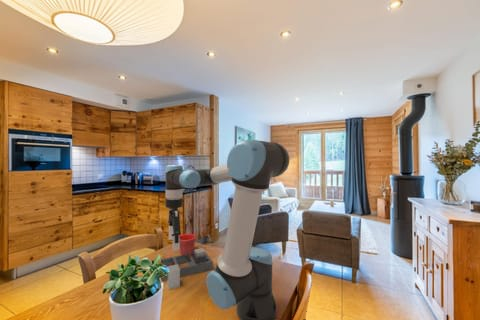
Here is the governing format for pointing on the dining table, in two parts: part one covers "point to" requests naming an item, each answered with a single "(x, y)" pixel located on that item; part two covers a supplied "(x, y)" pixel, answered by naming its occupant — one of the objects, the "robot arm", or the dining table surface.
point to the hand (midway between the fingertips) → (173, 244)
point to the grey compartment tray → (192, 266)
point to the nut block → (173, 277)
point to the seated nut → (199, 255)
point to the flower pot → (187, 243)
